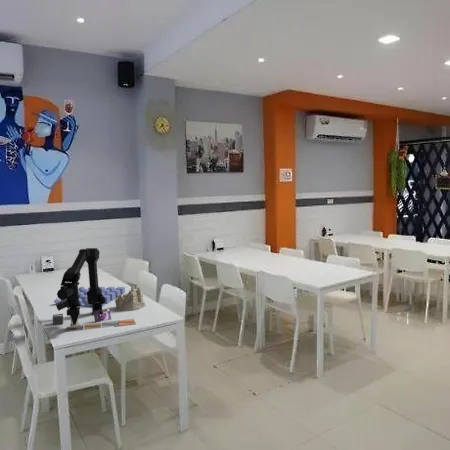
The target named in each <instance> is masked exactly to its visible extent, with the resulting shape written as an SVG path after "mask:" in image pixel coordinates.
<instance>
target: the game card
mask: <svg viewBox="0 0 450 450" xmlns="http://www.w3.org/2000/svg"><path fill="white" fill-rule="evenodd" d="M99 311H101V312H103V313H102V314H100V312H99ZM93 313H94V315H93V318H94V319H93V320H94V323H102V320H105V319H106V318H107V317H108V318H107V321H110V320H111V321H112V317H111V310H110V308H104V309H103V308H102V310H98V311H93Z"/></svg>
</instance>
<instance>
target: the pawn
mask: <svg viewBox="0 0 450 450" xmlns="http://www.w3.org/2000/svg"><path fill="white" fill-rule="evenodd" d="M69 318H70V324H69V326H70V327H77V326H79V325H80V322H79V318H78V319H77V322H76V324H75V325H73V322H72V319H71V316H70V315H69Z"/></svg>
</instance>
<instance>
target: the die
mask: <svg viewBox="0 0 450 450" xmlns="http://www.w3.org/2000/svg"><path fill="white" fill-rule="evenodd" d="M63 324H64V314H63V313H57V314H52V326H61V325H63Z"/></svg>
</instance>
